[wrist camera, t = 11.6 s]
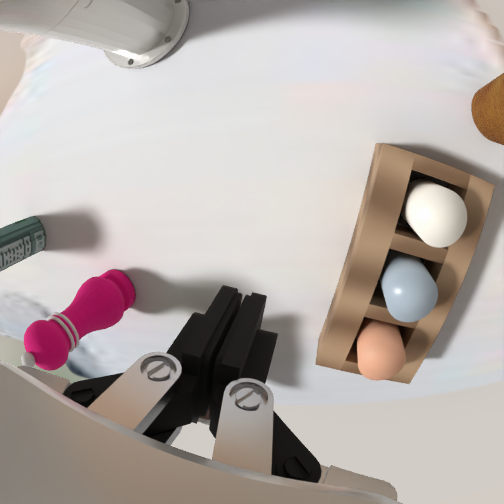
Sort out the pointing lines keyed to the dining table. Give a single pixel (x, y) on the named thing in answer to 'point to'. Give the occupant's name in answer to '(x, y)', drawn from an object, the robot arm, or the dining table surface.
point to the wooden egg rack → (404, 240)
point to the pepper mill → (78, 320)
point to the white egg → (434, 213)
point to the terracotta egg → (379, 349)
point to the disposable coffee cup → (490, 110)
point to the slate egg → (407, 287)
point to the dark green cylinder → (21, 241)
